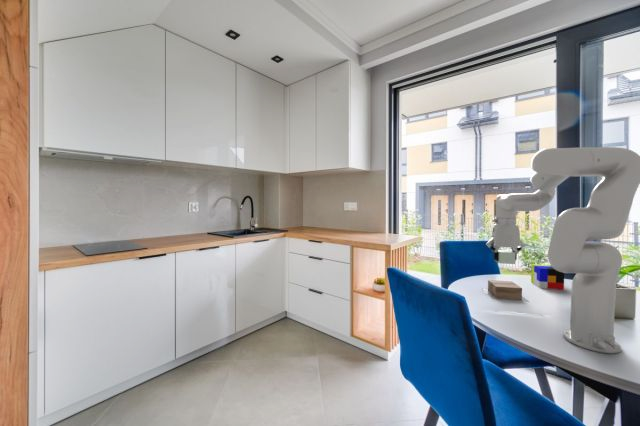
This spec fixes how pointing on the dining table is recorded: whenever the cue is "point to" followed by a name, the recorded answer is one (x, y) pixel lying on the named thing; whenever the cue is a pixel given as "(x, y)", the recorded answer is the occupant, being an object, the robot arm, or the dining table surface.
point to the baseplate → (504, 298)
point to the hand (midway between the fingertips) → (504, 260)
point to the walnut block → (504, 289)
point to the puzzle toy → (547, 277)
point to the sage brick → (506, 257)
